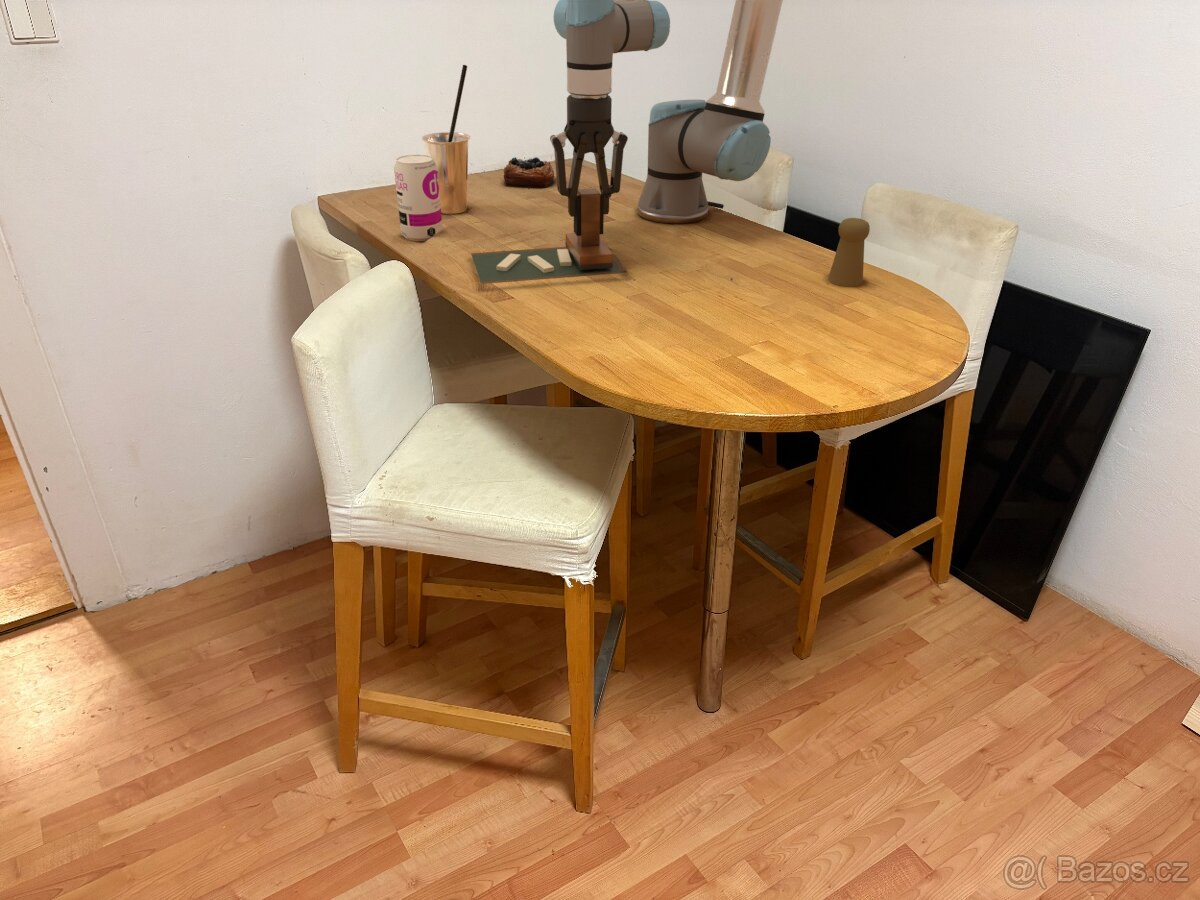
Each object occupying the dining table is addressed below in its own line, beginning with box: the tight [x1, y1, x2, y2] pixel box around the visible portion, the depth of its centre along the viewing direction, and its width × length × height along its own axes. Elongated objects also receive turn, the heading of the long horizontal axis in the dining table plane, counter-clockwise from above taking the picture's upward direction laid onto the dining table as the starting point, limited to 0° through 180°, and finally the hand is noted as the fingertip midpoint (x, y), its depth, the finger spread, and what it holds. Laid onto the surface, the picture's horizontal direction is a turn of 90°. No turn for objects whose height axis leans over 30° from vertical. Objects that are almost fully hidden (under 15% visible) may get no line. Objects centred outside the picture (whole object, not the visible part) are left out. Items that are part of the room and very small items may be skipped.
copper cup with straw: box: [421, 64, 471, 215], centre depth 180 cm, size 11×11×30 cm
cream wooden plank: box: [528, 255, 554, 273], centre depth 156 cm, size 7×2×1 cm, turn 29°
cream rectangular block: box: [496, 254, 521, 271], centre depth 156 cm, size 7×2×1 cm, turn 164°
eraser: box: [564, 187, 614, 270], centre depth 155 cm, size 6×13×12 cm, turn 13°
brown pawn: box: [827, 217, 871, 288], centre depth 152 cm, size 6×6×11 cm
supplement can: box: [393, 154, 444, 242], centre depth 169 cm, size 8×8×15 cm
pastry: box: [503, 156, 555, 189], centre depth 207 cm, size 11×12×6 cm
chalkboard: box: [470, 245, 628, 285], centre depth 158 cm, size 26×16×1 cm, turn 104°
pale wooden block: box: [557, 249, 572, 266], centre depth 159 cm, size 7×2×1 cm, turn 7°
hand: (588, 232), depth 156 cm, fingers closed on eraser, 3 cm apart
